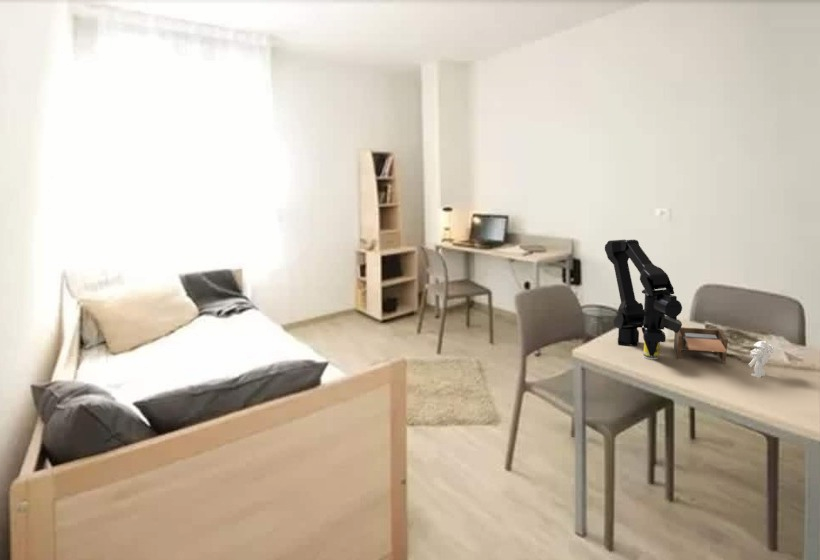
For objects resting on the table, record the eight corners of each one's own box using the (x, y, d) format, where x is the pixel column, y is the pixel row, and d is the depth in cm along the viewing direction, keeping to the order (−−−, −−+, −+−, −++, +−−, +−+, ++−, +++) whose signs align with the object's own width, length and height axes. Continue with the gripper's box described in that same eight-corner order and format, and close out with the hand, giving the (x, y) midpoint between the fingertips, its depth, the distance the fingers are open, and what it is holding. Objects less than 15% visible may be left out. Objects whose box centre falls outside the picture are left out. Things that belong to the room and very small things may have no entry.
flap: (686, 358, 155) (687, 346, 154) (680, 343, 167) (681, 332, 167) (726, 361, 151) (728, 349, 150) (717, 346, 163) (718, 334, 162)
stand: (677, 358, 164) (678, 336, 162) (673, 348, 173) (675, 326, 171) (725, 362, 159) (727, 339, 157) (719, 351, 168) (721, 329, 166)
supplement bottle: (650, 360, 163) (651, 337, 162) (640, 355, 168) (641, 332, 166) (662, 358, 165) (663, 335, 163) (651, 353, 169) (652, 330, 167)
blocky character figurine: (756, 381, 145) (761, 343, 142) (743, 376, 148) (746, 339, 145) (773, 374, 149) (778, 336, 146) (760, 369, 152) (764, 333, 149)
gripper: (685, 318, 151) (681, 365, 155) (677, 302, 168) (674, 345, 171) (645, 316, 155) (642, 362, 159) (641, 301, 172) (639, 342, 175)
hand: (651, 352), depth 166 cm, fingers closed on supplement bottle, 5 cm apart
